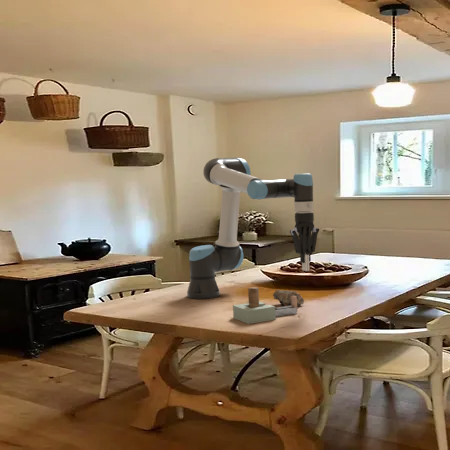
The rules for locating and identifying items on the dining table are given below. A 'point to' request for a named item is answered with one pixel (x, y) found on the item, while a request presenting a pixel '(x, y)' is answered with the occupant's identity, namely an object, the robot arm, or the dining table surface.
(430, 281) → the dining table surface
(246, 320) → the block
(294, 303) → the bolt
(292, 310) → the block
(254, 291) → the peg
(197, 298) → the robot arm
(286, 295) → the rock
